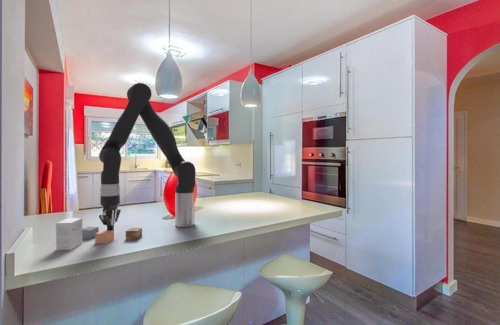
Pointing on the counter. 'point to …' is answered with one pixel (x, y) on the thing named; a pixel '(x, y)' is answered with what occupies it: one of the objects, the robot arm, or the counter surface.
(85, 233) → the grey block
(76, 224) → the small box
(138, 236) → the walnut block
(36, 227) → the counter surface
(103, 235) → the terracotta block
